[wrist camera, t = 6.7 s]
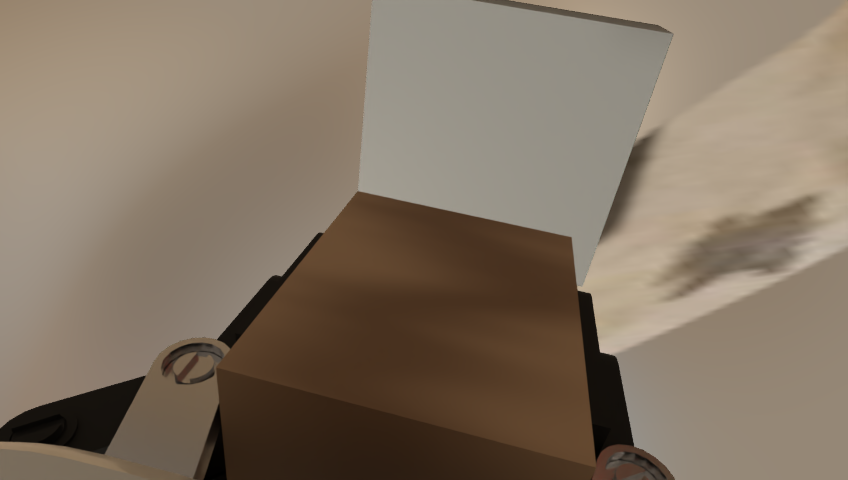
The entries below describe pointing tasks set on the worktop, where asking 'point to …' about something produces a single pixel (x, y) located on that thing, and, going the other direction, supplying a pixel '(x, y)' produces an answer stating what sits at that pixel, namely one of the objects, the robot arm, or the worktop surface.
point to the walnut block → (414, 356)
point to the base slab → (506, 111)
